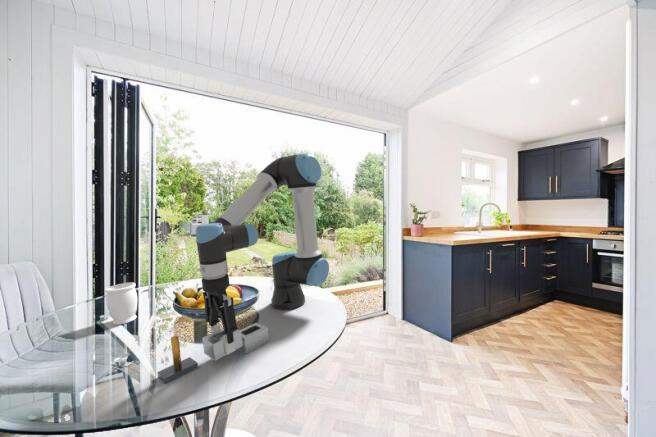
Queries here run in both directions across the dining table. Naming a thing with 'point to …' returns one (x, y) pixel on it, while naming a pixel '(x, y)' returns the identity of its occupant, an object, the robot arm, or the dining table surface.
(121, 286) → the jar
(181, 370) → the grey base with post
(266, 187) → the robot arm
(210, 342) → the grey rectangular block
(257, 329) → the grey slotted holder
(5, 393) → the dining table surface
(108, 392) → the dining table surface
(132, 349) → the dining table surface
